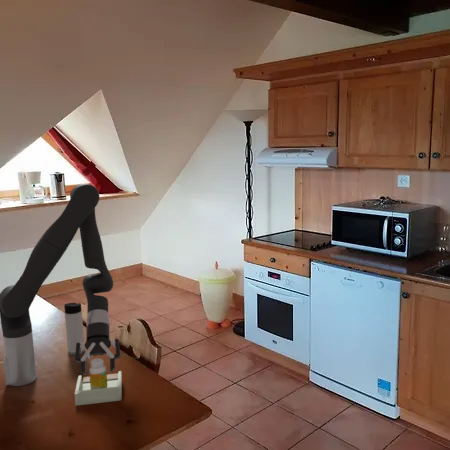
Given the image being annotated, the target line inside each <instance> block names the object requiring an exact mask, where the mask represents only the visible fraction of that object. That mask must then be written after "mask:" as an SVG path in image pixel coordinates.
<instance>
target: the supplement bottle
mask: <svg viewBox="0 0 450 450" xmlns="http://www.w3.org/2000/svg"><path fill="white" fill-rule="evenodd" d="M88 372H89V377H90V388H91V390H92V389H101V388H107V387H108V386H107V375H108V374H107V373H108V372H107V366H106V365H105V362H104V359H103V358H99V357H98V358H94V359H92V360H91V361H90V368H89V371H88Z"/></svg>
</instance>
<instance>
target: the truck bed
mask: <svg viewBox="0 0 450 450" xmlns="http://www.w3.org/2000/svg"><path fill="white" fill-rule="evenodd" d="M82 375H83V374H82ZM82 375H81V374H80V375H78V377H77V380H76V386H75V391H74V401H75V403H74V404H75V406H84V405H92V404H100V403H101V404H102V403H108V402H109V403H111V402H119V401H122V394H123V393H122V392H123V390H122V389H123V379H122V378H123V376H122V370H119V371H118V373H109V374H107V386H108V387H107V388H101V389H92V390H91V388H90V376H84V377H83V376H82ZM82 377H83V378H82Z"/></svg>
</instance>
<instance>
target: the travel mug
mask: <svg viewBox="0 0 450 450" xmlns="http://www.w3.org/2000/svg"><path fill="white" fill-rule="evenodd" d="M64 318H65V321H64V322H65V331H66V341H67V353H68V355H71V356H75V353H76V344H77V343H80V344H85V337H84V335H85V334H84V325H83V323H84V322H83V310H82V303H76V302H68V303H65V304H64ZM85 352H86V348H85V347H84V348H83V350H82V351H81V352H80V355H81V354H83V353H85Z"/></svg>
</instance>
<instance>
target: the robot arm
mask: <svg viewBox="0 0 450 450" xmlns="http://www.w3.org/2000/svg"><path fill="white" fill-rule="evenodd" d="M69 197H70V198H69V201H68V203H67V204H66V206H65V208H64V209H63V211H62V213H61V214H60V215H59V216H58V218H57V219H55V221H54V222H53V223H52V224H51V225H50V226H49V227H48V228H47V229H46V230H45V231H44V233H43V234H42V235H41V237H40V238H39V240H38V241H37V243H36V244H35V245H34V247H33V249H32V251H31V253H30V255H29V258H28V260H27V263H26V265H25V268H24V270H23V272H22V274H21V275H20V277H19V278H18V279H17V281H16V282H15V284H14V285H13V284H12V285H8V286H6V287H5V288H3V289H2V290H1V292H0V325H1V332H2V341H3V349H4V357H3V367H4V377H5V385H6V386H11V387H22V386H25V385H28V384H31V383H33V382H34V381H36V379H37V376H38V375H37V368H36V367H37V366H36V356H35V347H34V336H33V327H32V326H33V325H32V324H33V323H32V321H31V320H32V319H31V316H30V314H31V313H30V307H31V305H32V304H33V302H34V300H35V297H37V294H38V292H39V290H40V288H41V287H42V285H43V284H44V282H45V281H46V279H48V277H49V276H50V274H51V273H52V271H53V270H54V269H55V267H56V266H57V264H58V263H59V262H60V260H61V258H62V257H63V255H64V254H65V252H66V251H67V250H68V248H69V246H70V244H71V243H72V241H73V239H74V237H75V235H76V234H77V232H78V230H79V235H80V243H81V249H82V250H81V251H82V255H83V256H82V257H83V262H84V266H85V268H87V269H92V270H97V271H98V272H99V273H92V274H88V275H85V276H84V278H83V279H82V287H83V291H84V294H85V297H86V303H87V304H86V305H87V310H86V311H87V315H86V329H85V330H86V332H85V333H86V336H85V337H86V340H85V342H84V344H80V343H77V344H76V353H75V355H74V360H75V362H76V363H78V364H80V372H81V374H82V375H83V376H86V375H87V373H86V372H87V361H88V360H89V359H90V358H91V357H92V356H93V357H97V356H104V355H106V357H108V359H109V371H110V373H113V372H114V371H115V369H116V364H115V363H116V360H118V359H120V358H121V351H120V348H121V347H120V340H119V339H118V338H116V339H114V340H111V339H110V324H111V323H110V317H109V316H110V315H109V300H108V298H107V297H106V296H103V295H99V294H101V293H102V294H103V293H109V292H110V291H112V289H113V287H114V280H113V277H112V275H111V272H110V271H109V268H108V266H107V264H106V260H105V254H104V248H103V243H102V238H101V235H100V232H99V231H100V230H99V228H98V224H97V219H96V207H97V206H98V204H99V202H100V193H99V190H98V188H96V186H94V185H92V184H91V183H80V184H79V183H78V184H77V185H75V186H74V187H73V188H72V189H71V190H70V196H69ZM97 294H98V295H97ZM111 346H113V348H115V354H114V353H112V351H111V349H109V348H111ZM84 347H85V351H84V354H83V355H82V357H81V354H80V352H81V351H82V350H83V348H84Z"/></svg>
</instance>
